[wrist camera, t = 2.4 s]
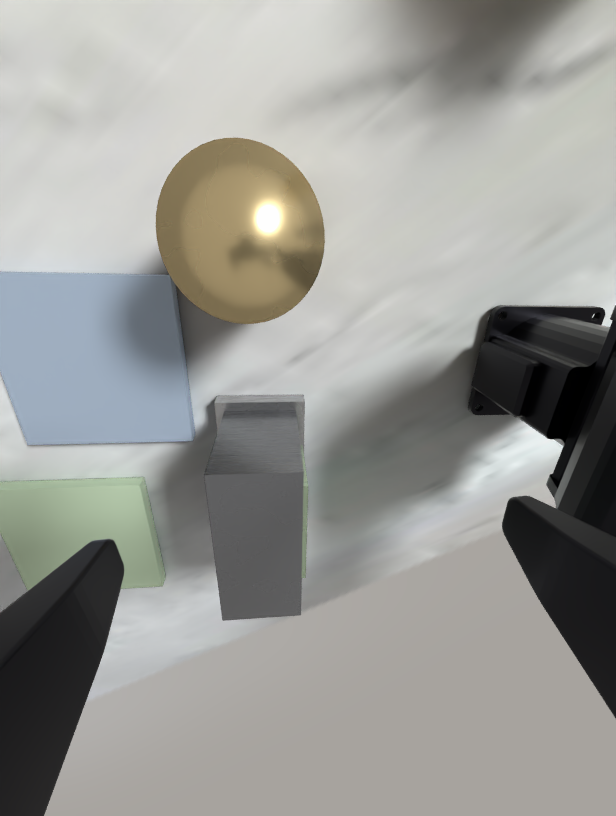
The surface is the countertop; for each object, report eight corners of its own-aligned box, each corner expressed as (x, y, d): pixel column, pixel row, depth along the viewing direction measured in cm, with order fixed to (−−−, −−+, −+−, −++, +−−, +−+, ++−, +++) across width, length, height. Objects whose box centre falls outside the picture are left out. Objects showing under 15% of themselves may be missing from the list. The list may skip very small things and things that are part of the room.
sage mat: (144, 476, 22) (139, 484, 21) (165, 576, 25) (162, 586, 25) (-10, 482, 21) (-20, 490, 20) (36, 584, 25) (29, 594, 24)
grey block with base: (303, 394, 20) (316, 461, 14) (300, 524, 24) (310, 620, 18) (217, 395, 20) (189, 465, 13) (229, 527, 24) (213, 627, 18)
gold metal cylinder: (307, 184, 16) (328, 142, 10) (305, 297, 18) (321, 324, 12) (196, 180, 15) (141, 132, 9) (207, 296, 18) (169, 323, 11)
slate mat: (174, 274, 17) (170, 276, 16) (195, 434, 21) (192, 441, 20) (-23, 271, 16) (-37, 272, 15) (36, 437, 20) (27, 444, 19)
